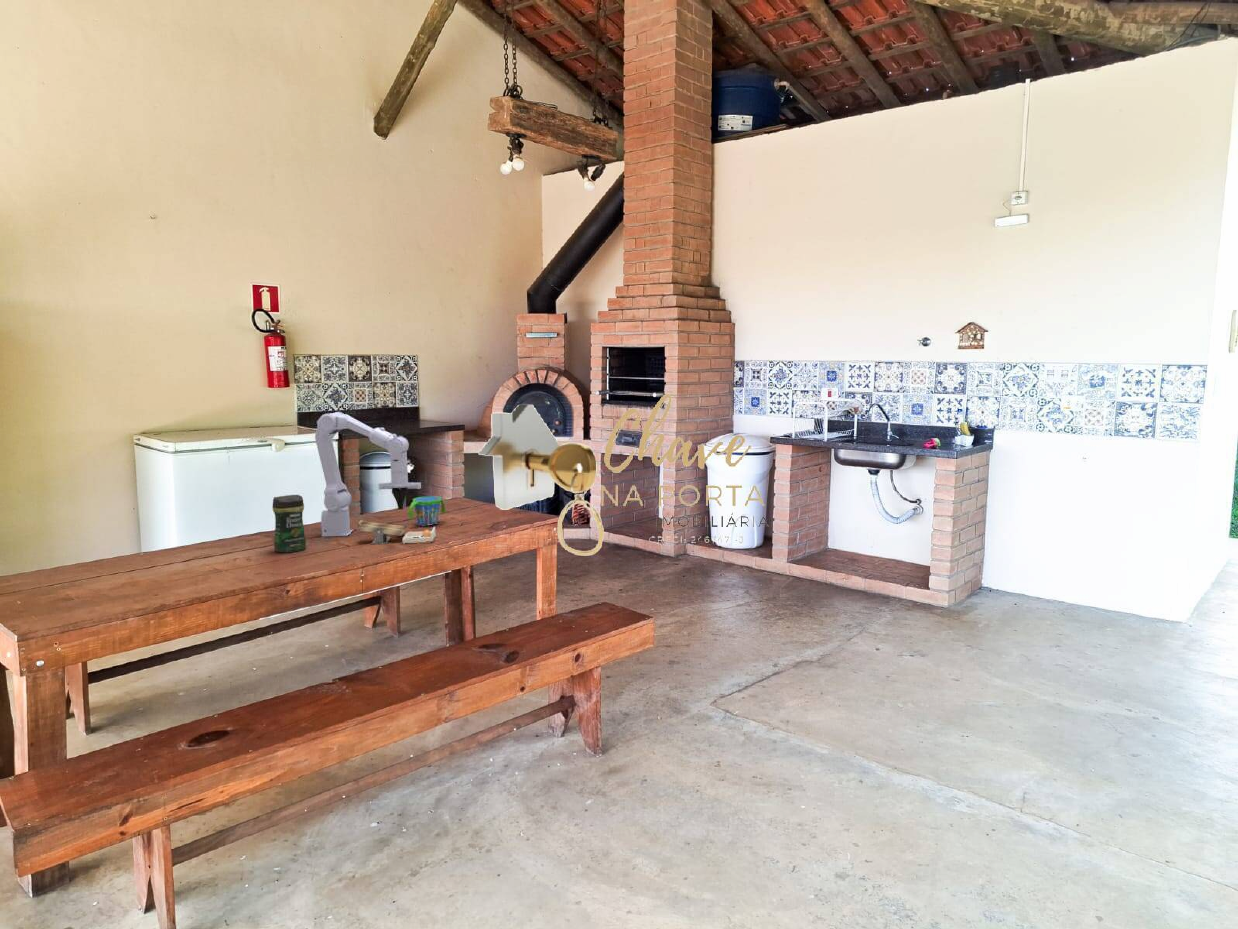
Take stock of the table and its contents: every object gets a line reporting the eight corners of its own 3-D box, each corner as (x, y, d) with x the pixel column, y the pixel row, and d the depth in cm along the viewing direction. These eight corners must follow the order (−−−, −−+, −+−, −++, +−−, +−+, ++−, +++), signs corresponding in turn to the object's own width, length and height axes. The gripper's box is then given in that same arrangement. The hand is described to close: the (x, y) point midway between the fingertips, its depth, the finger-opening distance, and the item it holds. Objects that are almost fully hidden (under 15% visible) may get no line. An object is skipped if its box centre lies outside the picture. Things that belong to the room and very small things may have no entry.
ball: (423, 530, 281) (431, 532, 281) (424, 528, 284) (432, 530, 284) (420, 537, 281) (429, 540, 281) (421, 535, 284) (430, 538, 284)
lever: (357, 530, 277) (358, 523, 276) (364, 522, 289) (365, 515, 289) (401, 535, 279) (402, 529, 278) (406, 527, 291) (407, 521, 291)
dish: (402, 543, 277) (402, 534, 276) (406, 537, 287) (406, 527, 286) (432, 543, 278) (431, 533, 278) (435, 536, 288) (435, 526, 287)
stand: (371, 544, 276) (371, 530, 276) (376, 538, 285) (375, 524, 284) (386, 543, 277) (386, 529, 276) (390, 538, 286) (390, 524, 285)
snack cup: (438, 519, 316) (437, 494, 315) (452, 523, 309) (452, 497, 307) (402, 525, 306) (401, 499, 304) (416, 530, 298) (415, 503, 296)
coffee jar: (280, 554, 263) (277, 499, 260) (271, 550, 269) (268, 495, 266) (310, 549, 269) (306, 495, 267) (300, 545, 275) (297, 492, 272)
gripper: (376, 473, 281) (377, 511, 283) (418, 472, 283) (420, 510, 285) (379, 470, 288) (381, 507, 290) (421, 469, 290) (422, 506, 291)
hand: (400, 508), depth 288 cm, fingers closed
